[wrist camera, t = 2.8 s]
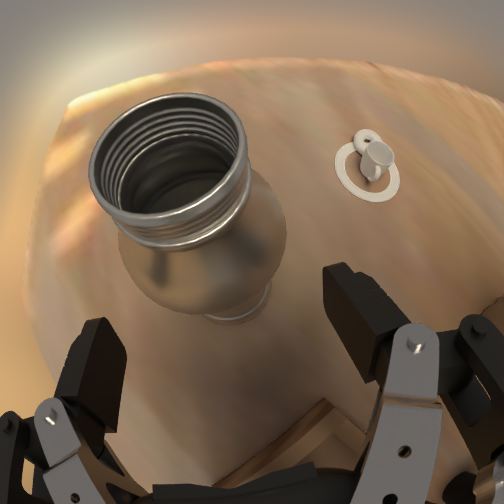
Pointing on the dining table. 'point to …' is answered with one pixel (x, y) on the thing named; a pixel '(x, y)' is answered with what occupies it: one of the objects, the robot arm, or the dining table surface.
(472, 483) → the drinking cup
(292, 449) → the drawer
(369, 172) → the teacup and saucer
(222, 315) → the plastic bottle
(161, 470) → the dining table surface
